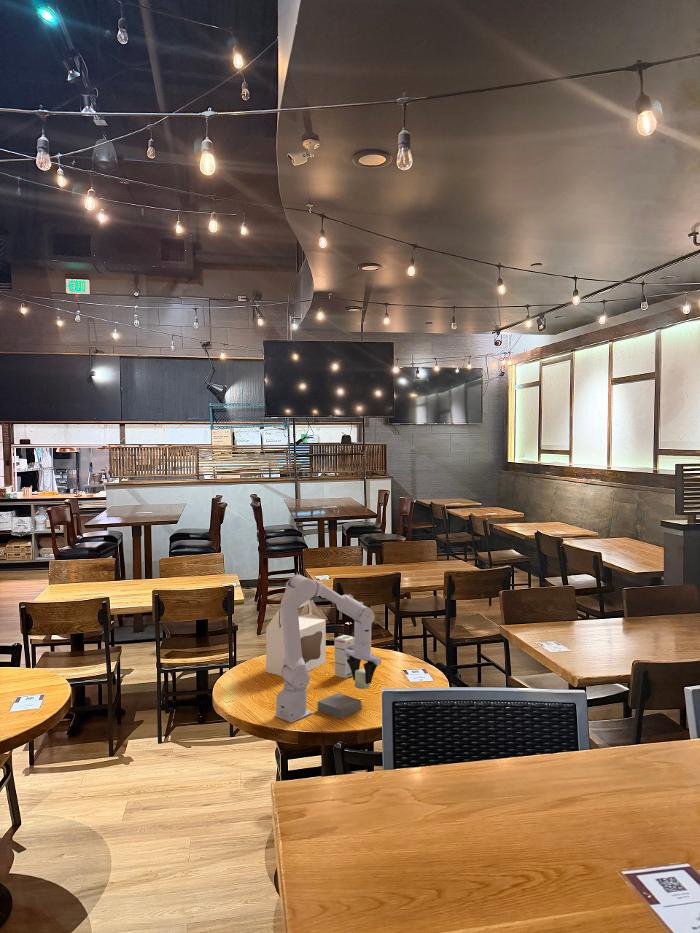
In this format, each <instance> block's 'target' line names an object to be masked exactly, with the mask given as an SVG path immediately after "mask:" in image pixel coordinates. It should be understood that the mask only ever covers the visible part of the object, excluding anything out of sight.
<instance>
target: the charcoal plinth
mask: <svg viewBox="0 0 700 933" xmlns="http://www.w3.org/2000/svg"><path fill="white" fill-rule="evenodd" d="M360 710H362V700H360V699H357V698H355V697H353V696H348V695H346V694H344V693H340V692H336V693H334V694H332V695H330V696H327V697H325V698H322V699H320V700H318V701H317V711H318V712H321V713H323V714H325V713H326V715H329V716H331V717H333V718H337V719H339V720H341V719H344V718H346V717H348V716H350V715H353V714H354V713H356V712H358V711H360Z"/></svg>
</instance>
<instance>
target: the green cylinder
mask: <svg viewBox="0 0 700 933" xmlns="http://www.w3.org/2000/svg"><path fill="white" fill-rule="evenodd" d="M370 684H371V683H369V684H366V675H365V669H364V668H359V669H358V670H356V671H355V680H354V687H355V689H359V690H366V689H369V688H370Z"/></svg>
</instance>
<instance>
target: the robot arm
mask: <svg viewBox="0 0 700 933" xmlns="http://www.w3.org/2000/svg"><path fill="white" fill-rule="evenodd" d="M319 596H322V597H323V598H324V599H326V600H328V601H330V602H332V603H334V604H336V605H335V606H336V609H337V610H338V611H339V612H341V613H342V614H344V615H346V616H348V617H350V618H352V620H354V625H353V627H354V631H353V632H354V634H353V635H354V636H353V637H354V650H349V649H348V650H345V656H349V659H347V663H348V664H349V666H350V669H351V672H352V676H351V677H352V679H353V681H355V671H356V670H358V669H361V668H360V666H361V661H365V663H362V664H363V669H365V675H366V684H369V683H370V684H372V681H373V676H374V673H375V671H376V670H377V667H378V666H379V665H381V664H382V657H379V656H377V655H375V654H373V652H372V627H373V625H372V624H373V622H374V620H375V619H376V618H375V617H376V615H375V614H374V611H373V609H372V608H370V607H368V606H366V605H364V602H362V601H358V600H356V599H354V596H353V595H352V594H343V595H340V594H339V593H338V592H336V591H334V590H333V589H331V588H330V587H328V586H327V585H325V584H323V583H322V582H320V581H318V580H314V579H311V578H309V577H305V576H303V575H302V574H295V575H293V576H292V577H291V578H289V580H287V582H286V583H285V590H284V593H283V596H282V598H281V602H280V609H281V613H282V624H283V635H284V645H285V656H286V657H285V659H284V660H283V668H282V671H281V675H282V676H281V678H282V679H283V680H284V683H283V688H282V689H281V690H280V691H279V692H277V694H276V697H275V698H276V700H275V701H276V702H275V703H276V705H275V708H276V709H275V712H276V713H274V717H276V718H278V717H279V719H280V720H281V719H282V720H283V721H286V722H289V723H294V722H296V721H298V720H301V719H303V718H306V717H308V716H310V715H311V714H313V711H311V710H307V686H308V685H309V684H310V680H311V678H310V677H311V676H310V673H309V671H308V672H307V670H306V665H305V662H304V660H303V658H302V649H301V639H300V628H299V617H298V616H299V608H301V607H300V606H301V605H302V604H303V603H304V602H306V601H308V600H309V599H310V600H312V598H314V597H319Z"/></svg>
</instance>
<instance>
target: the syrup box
mask: <svg viewBox="0 0 700 933" xmlns="http://www.w3.org/2000/svg"><path fill="white" fill-rule="evenodd" d="M333 641H334V676H336V677H338V676H339V678H342V679H348V678H350V677H353V676H352V672H351V669H350V666H349V664H348V663H347V659H349V656H345V650H348V649H349V650H354V636H352V635H348V634H347V635H346V634H342V635H340V636H337V637H334V640H333Z"/></svg>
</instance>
